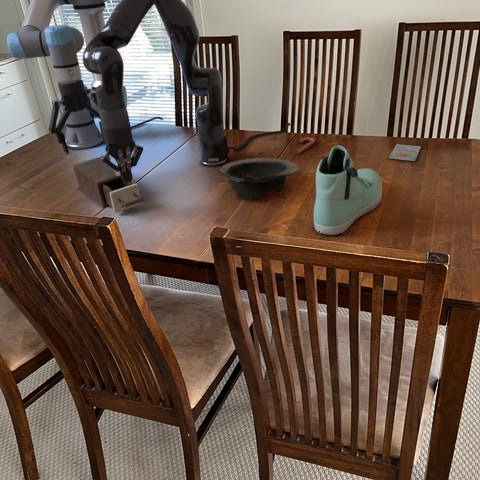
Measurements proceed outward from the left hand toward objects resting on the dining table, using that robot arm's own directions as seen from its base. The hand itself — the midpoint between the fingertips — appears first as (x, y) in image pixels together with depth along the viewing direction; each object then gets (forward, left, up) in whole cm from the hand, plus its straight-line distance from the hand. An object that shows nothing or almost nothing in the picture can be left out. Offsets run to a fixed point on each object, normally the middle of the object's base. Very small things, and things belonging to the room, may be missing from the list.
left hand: (86, 146), depth 158 cm
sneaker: (-47, +72, -14) cm, 87 cm away
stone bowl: (-38, +42, -14) cm, 58 cm away
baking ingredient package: (-93, +58, -14) cm, 110 cm away
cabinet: (0, +7, -14) cm, 16 cm away
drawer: (0, +19, -13) cm, 23 cm away
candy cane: (-73, +27, -14) cm, 79 cm away
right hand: (0, +29, -3) cm, 30 cm away
